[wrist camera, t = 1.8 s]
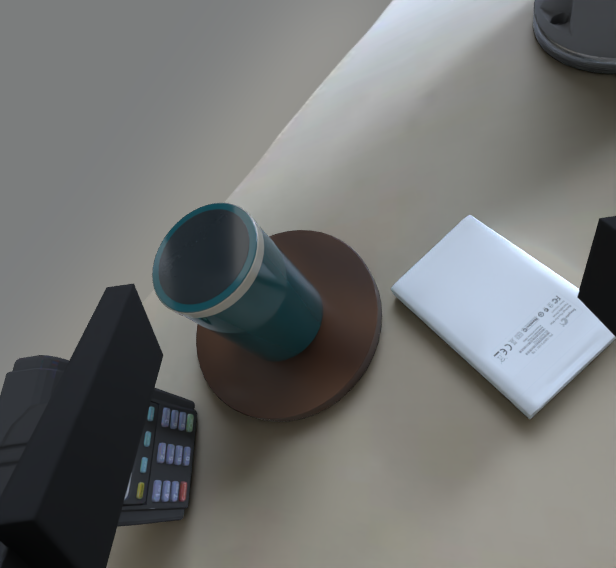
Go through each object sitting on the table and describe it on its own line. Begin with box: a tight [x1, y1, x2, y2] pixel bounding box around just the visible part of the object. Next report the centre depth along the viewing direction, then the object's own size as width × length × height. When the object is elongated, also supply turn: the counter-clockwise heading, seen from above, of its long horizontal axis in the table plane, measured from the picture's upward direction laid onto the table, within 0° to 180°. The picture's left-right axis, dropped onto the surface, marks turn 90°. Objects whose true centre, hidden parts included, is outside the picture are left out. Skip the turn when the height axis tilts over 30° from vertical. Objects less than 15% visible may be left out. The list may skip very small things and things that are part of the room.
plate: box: [196, 230, 382, 422], centre depth 37 cm, size 16×16×1 cm
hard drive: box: [391, 215, 616, 419], centre depth 31 cm, size 2×8×12 cm
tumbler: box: [152, 203, 323, 361], centre depth 32 cm, size 8×8×11 cm
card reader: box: [0, 355, 197, 526], centre depth 30 cm, size 9×4×15 cm, turn 1°
